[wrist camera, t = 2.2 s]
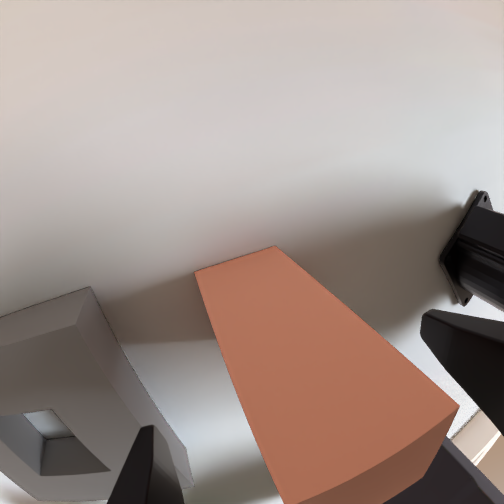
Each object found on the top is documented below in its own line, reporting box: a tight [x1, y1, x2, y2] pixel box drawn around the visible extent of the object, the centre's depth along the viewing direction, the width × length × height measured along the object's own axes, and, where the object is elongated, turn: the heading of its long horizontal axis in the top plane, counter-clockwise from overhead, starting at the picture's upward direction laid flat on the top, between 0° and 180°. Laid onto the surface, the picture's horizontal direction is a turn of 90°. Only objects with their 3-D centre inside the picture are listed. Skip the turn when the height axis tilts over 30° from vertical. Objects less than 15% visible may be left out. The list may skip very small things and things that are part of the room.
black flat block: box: [382, 436, 504, 504], centre depth 15 cm, size 11×4×15 cm, turn 146°
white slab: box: [451, 410, 501, 466], centre depth 37 cm, size 30×26×6 cm
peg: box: [194, 246, 460, 504], centre depth 9 cm, size 4×4×10 cm
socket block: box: [0, 287, 194, 501], centre depth 11 cm, size 12×12×3 cm
